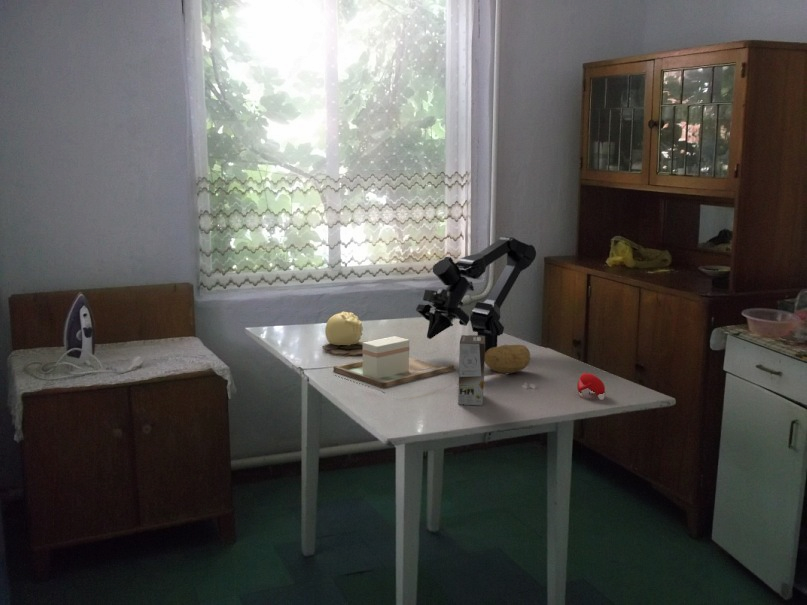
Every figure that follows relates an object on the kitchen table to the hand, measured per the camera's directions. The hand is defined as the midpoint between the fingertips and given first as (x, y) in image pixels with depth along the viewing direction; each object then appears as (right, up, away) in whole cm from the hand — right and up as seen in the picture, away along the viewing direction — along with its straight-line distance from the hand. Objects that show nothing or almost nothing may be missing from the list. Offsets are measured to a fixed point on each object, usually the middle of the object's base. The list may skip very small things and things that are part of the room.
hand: (428, 338), depth 244 cm
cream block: (-12, -9, -10) cm, 18 cm away
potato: (+22, -10, -4) cm, 25 cm away
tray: (-10, -10, -7) cm, 15 cm away
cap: (+42, -14, -25) cm, 51 cm away
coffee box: (+10, -15, -29) cm, 34 cm away
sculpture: (-27, -3, +27) cm, 38 cm away
